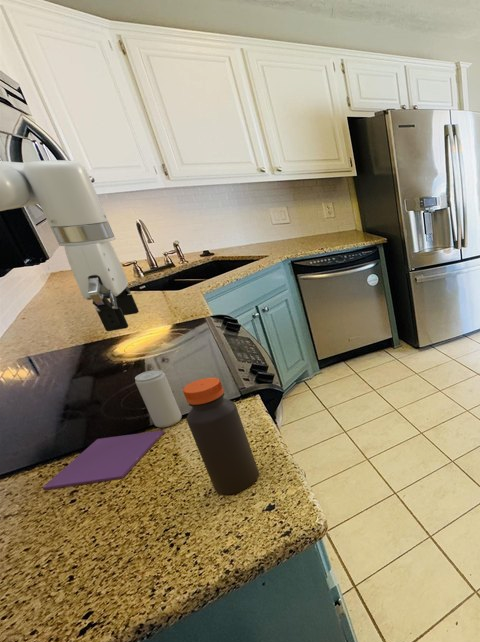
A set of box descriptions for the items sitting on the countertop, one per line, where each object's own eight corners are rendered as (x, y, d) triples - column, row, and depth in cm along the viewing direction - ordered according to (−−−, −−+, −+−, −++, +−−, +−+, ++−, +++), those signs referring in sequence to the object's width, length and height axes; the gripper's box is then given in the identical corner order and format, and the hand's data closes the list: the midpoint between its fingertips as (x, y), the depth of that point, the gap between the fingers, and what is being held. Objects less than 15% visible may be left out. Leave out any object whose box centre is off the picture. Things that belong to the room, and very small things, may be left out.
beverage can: (149, 427, 88) (127, 379, 83) (171, 414, 92) (151, 368, 88) (167, 430, 87) (145, 381, 82) (188, 417, 91) (169, 370, 87)
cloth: (43, 490, 72) (42, 487, 71) (98, 441, 84) (97, 438, 84) (122, 478, 74) (121, 476, 74) (164, 432, 86) (163, 430, 86)
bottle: (214, 502, 68) (173, 401, 60) (215, 478, 74) (176, 382, 66) (260, 485, 72) (227, 387, 64) (258, 463, 77) (226, 370, 69)
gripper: (72, 230, 79) (110, 312, 86) (36, 244, 65) (85, 340, 72) (122, 226, 82) (155, 305, 89) (98, 238, 69) (139, 331, 76)
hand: (123, 321), depth 81 cm, fingers open, 9 cm apart
